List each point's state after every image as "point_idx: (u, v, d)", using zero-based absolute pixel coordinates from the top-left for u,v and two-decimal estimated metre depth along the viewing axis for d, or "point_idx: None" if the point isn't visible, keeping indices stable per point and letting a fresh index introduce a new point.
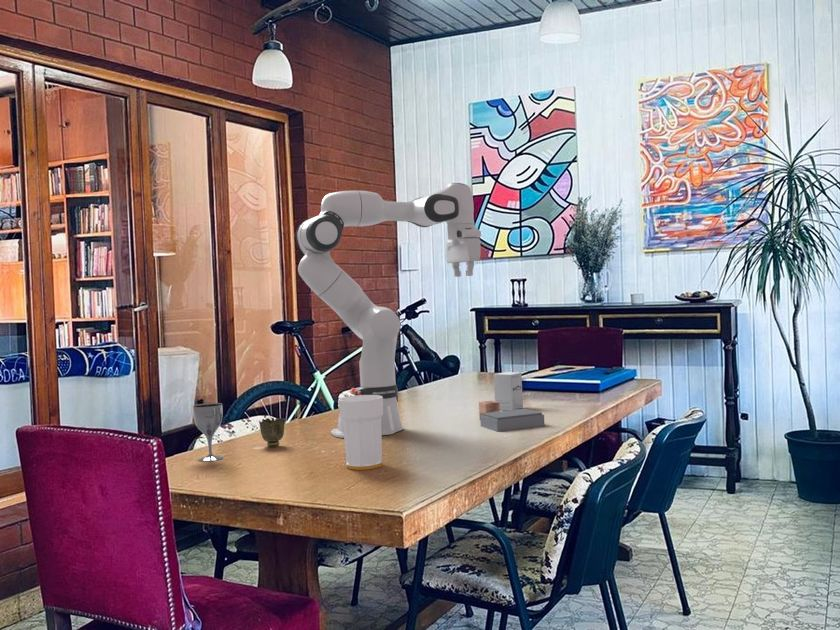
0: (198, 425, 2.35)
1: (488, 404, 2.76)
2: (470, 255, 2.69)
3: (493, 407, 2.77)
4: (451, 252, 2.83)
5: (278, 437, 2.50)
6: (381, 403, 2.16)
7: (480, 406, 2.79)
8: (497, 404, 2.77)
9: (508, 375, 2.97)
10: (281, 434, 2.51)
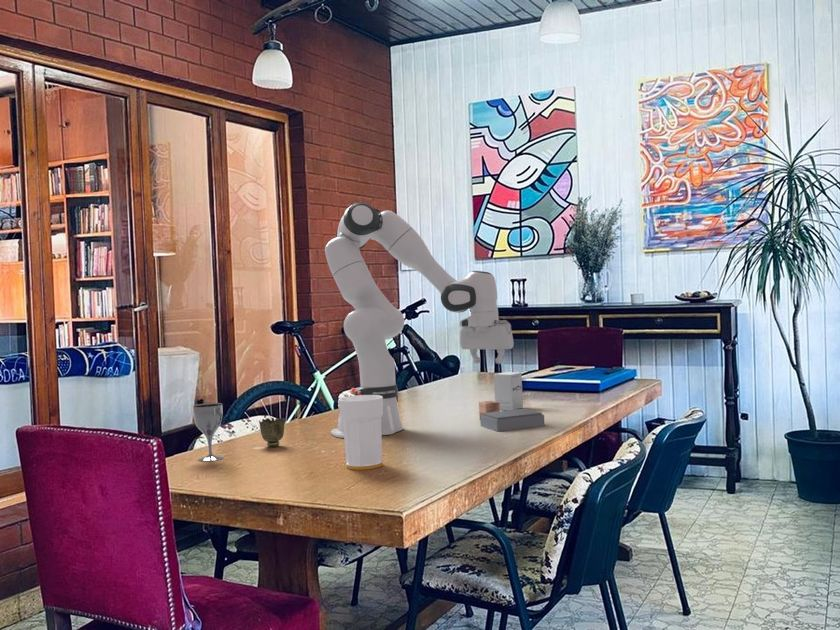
0: (198, 425, 2.35)
1: (488, 404, 2.76)
2: None
3: (493, 407, 2.77)
4: None
5: (278, 437, 2.50)
6: (381, 403, 2.16)
7: (480, 406, 2.79)
8: (497, 404, 2.77)
9: (508, 375, 2.97)
10: (281, 434, 2.51)
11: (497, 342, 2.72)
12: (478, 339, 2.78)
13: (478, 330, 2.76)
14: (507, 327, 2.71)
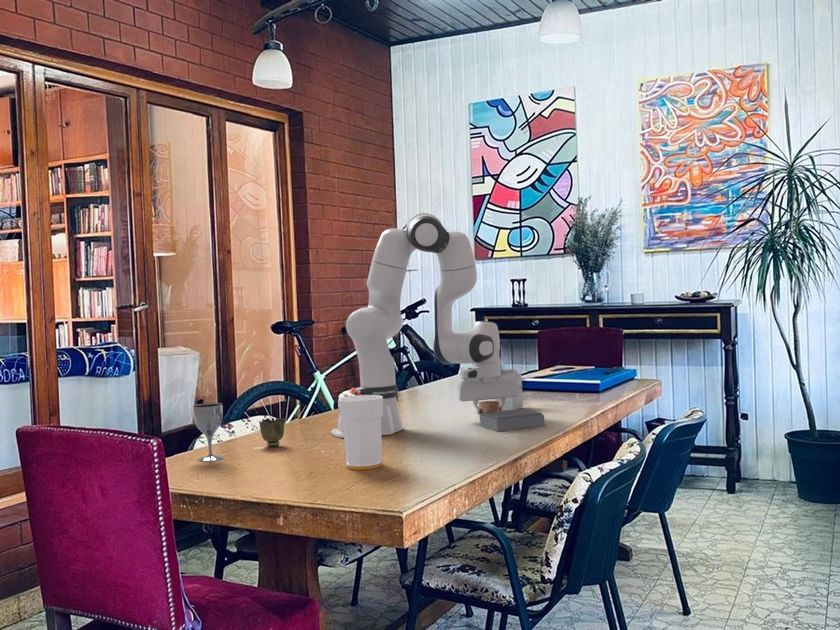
0: (198, 425, 2.35)
1: (488, 404, 2.76)
2: (457, 395, 2.78)
3: (493, 407, 2.77)
4: None
5: (278, 437, 2.50)
6: (381, 403, 2.16)
7: (480, 406, 2.79)
8: (497, 404, 2.77)
9: None
10: (281, 434, 2.51)
11: (508, 391, 2.78)
12: (483, 389, 2.76)
13: (489, 380, 2.75)
14: (516, 375, 2.80)
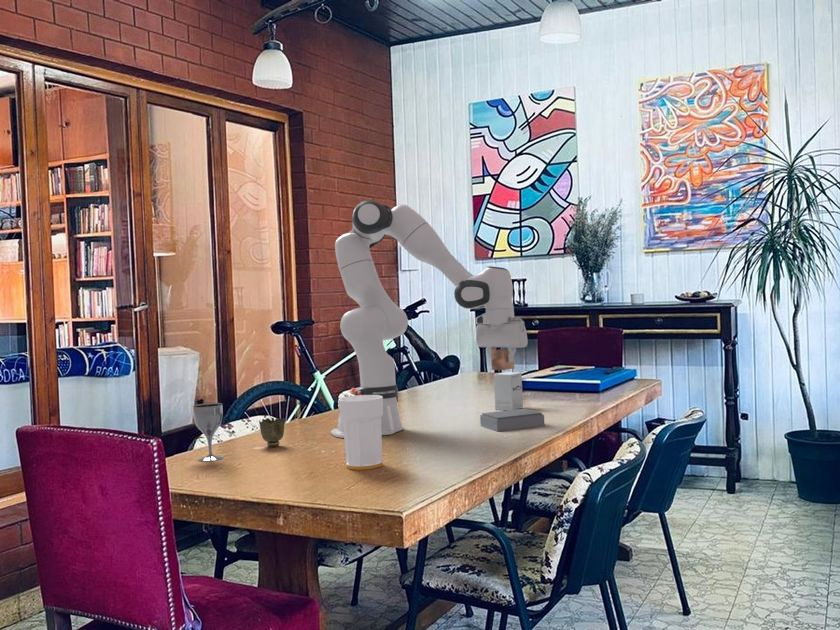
0: (198, 425, 2.35)
1: (493, 351, 2.69)
2: None
3: (498, 355, 2.68)
4: None
5: (278, 437, 2.50)
6: (381, 403, 2.16)
7: None
8: (501, 352, 2.67)
9: (508, 375, 2.97)
10: (281, 434, 2.51)
11: (510, 340, 2.64)
12: (492, 336, 2.70)
13: (492, 327, 2.68)
14: (521, 325, 2.62)
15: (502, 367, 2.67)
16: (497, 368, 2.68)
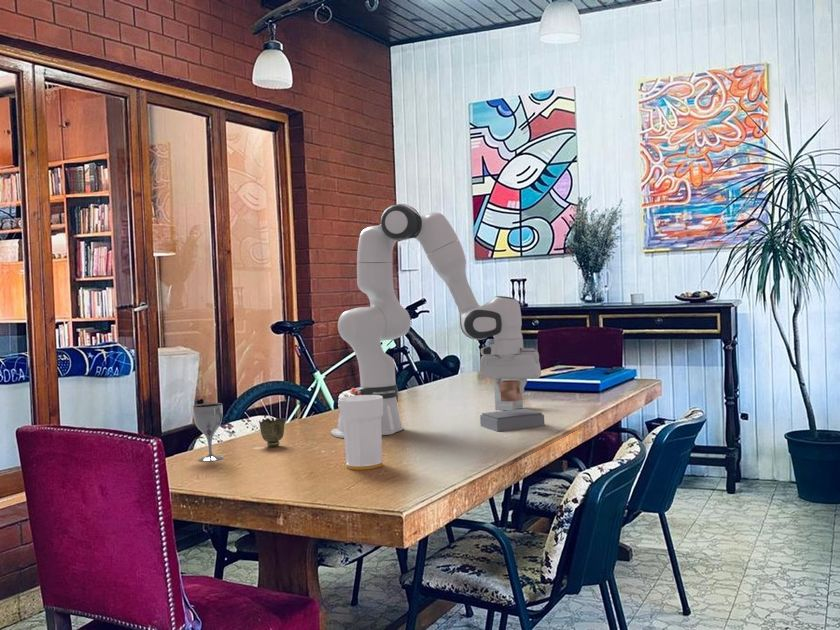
0: (198, 425, 2.35)
1: (503, 383, 2.64)
2: None
3: (508, 386, 2.63)
4: None
5: (278, 437, 2.50)
6: (381, 403, 2.16)
7: None
8: (513, 384, 2.62)
9: None
10: (281, 434, 2.51)
11: (524, 371, 2.60)
12: (501, 367, 2.65)
13: (503, 358, 2.63)
14: (535, 355, 2.59)
15: (513, 399, 2.63)
16: (507, 399, 2.64)
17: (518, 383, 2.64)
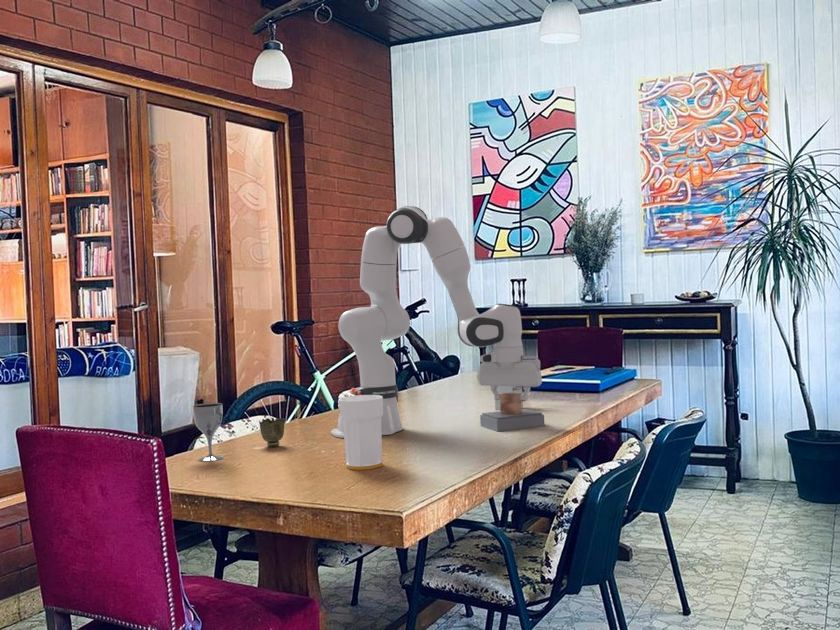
0: (198, 425, 2.35)
1: (503, 395, 2.64)
2: None
3: (508, 399, 2.64)
4: None
5: (278, 437, 2.50)
6: (381, 403, 2.16)
7: None
8: (513, 397, 2.63)
9: None
10: (281, 434, 2.51)
11: (525, 379, 2.61)
12: (501, 375, 2.65)
13: (503, 366, 2.63)
14: (537, 363, 2.60)
15: (513, 412, 2.63)
16: (507, 412, 2.64)
17: (518, 396, 2.65)
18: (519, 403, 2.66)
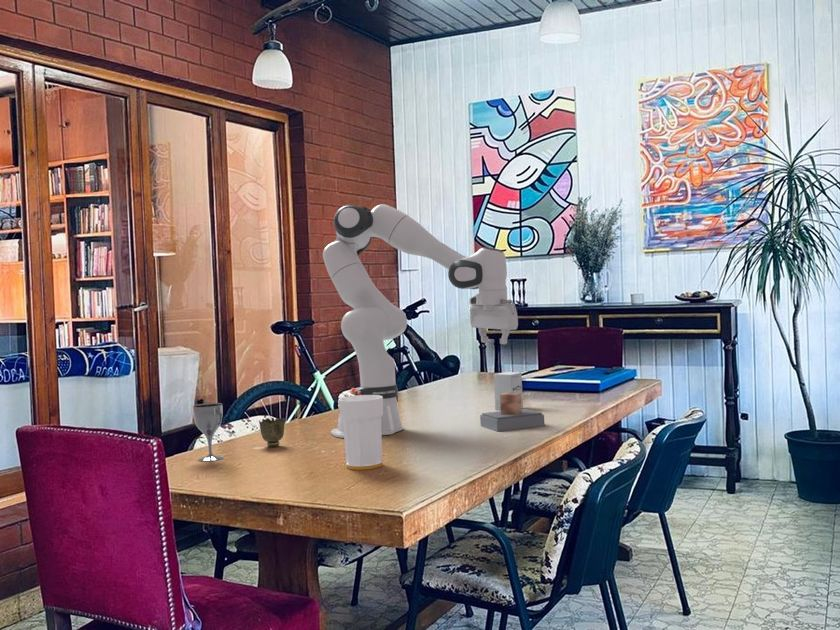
0: (198, 425, 2.35)
1: (503, 395, 2.64)
2: None
3: (508, 399, 2.64)
4: None
5: (278, 437, 2.50)
6: (381, 403, 2.16)
7: None
8: (513, 397, 2.63)
9: (508, 375, 2.97)
10: (281, 434, 2.51)
11: (501, 322, 2.64)
12: (485, 317, 2.70)
13: (484, 308, 2.68)
14: (511, 307, 2.61)
15: (513, 412, 2.63)
16: (507, 412, 2.64)
17: (518, 396, 2.65)
18: (519, 403, 2.66)
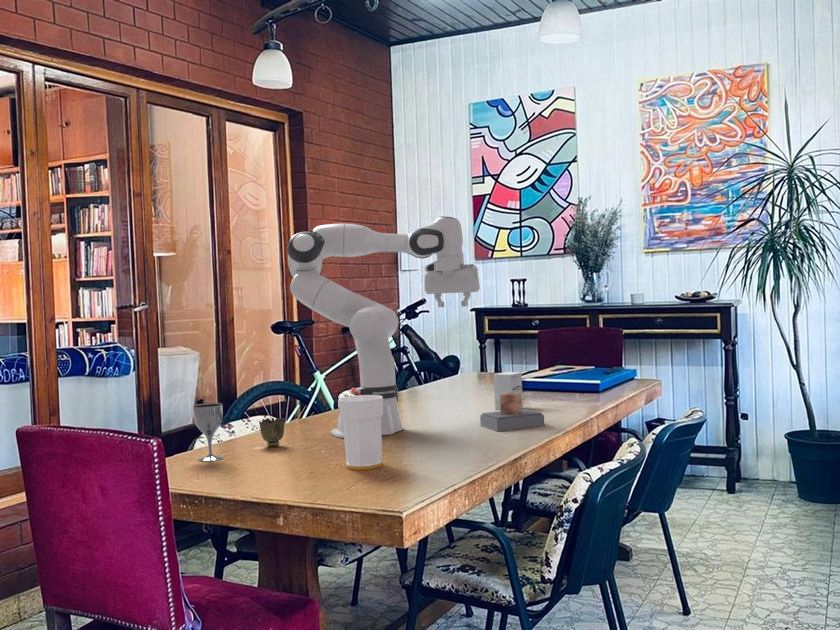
0: (198, 425, 2.35)
1: (503, 395, 2.64)
2: None
3: (508, 399, 2.64)
4: None
5: (278, 437, 2.50)
6: (381, 403, 2.16)
7: None
8: (513, 397, 2.63)
9: (508, 375, 2.97)
10: (281, 434, 2.51)
11: (464, 285, 2.81)
12: (443, 283, 2.86)
13: (445, 274, 2.84)
14: (474, 270, 2.80)
15: (513, 412, 2.63)
16: (507, 412, 2.64)
17: (518, 396, 2.65)
18: (519, 403, 2.66)
